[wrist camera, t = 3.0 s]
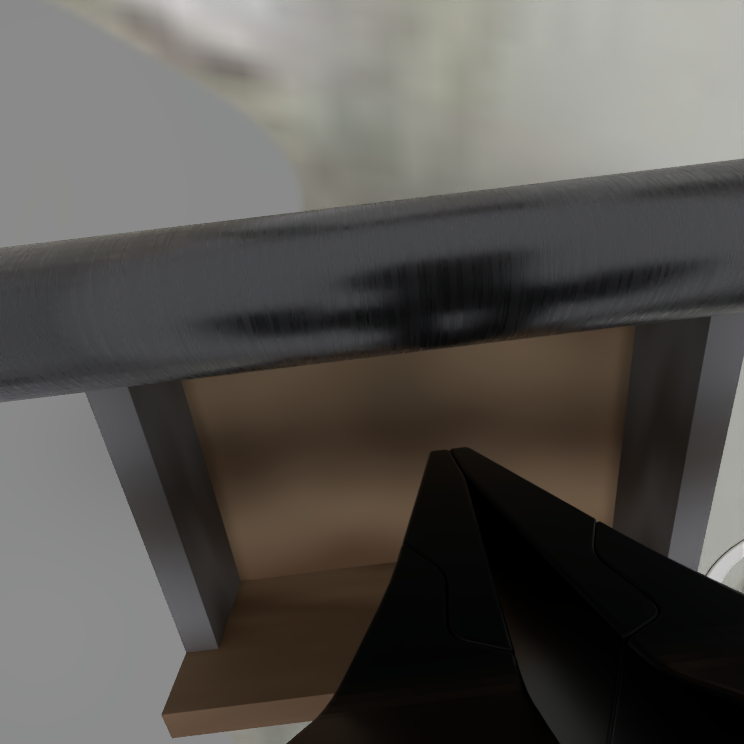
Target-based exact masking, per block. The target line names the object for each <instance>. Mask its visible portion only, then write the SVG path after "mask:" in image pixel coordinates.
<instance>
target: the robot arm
mask: <svg viewBox="0 0 744 744" xmlns="http://www.w3.org/2000/svg"><path fill="white" fill-rule="evenodd" d="M287 744H744V594H743V593H741V592H738V591H736V590H734V589H732V588H730V587H728V586H726V585H724V584H722V583H720V582H718V581H715V580H713V579H711V578H709V577H707V576H705V575H703V574H701V573H699V572H697V571H695V570H692V569H690V568H688V567H686V566H684V565H682V564H680V563H678V562H676V561H674V560H672V559H670V558H668V557H666V556H664V555H662V554H660V553H658V552H656V551H654V550H652V549H650V548H648V547H646V546H644V545H643V544H641V543H639V542H637V541H635V540H633V539H631V538H630V537H628V536H626V535H624V534H622V533H620V532H618V531H617V530H615V529H613V528H611V527H610V526H608V525H606V524H604V523H603V522H601V521H598V522H597V520H596V519H595V518H593V517H592V516H590V515H588V514H586V513H585V512H583V511H581V510H579V509H577V508H576V507H574V506H572V505H570V504H569V503H567V502H565V501H563V500H561V499H560V498H558V497H556V496H554V495H553V494H551V493H549V492H547V491H546V490H544V489H542V488H540V487H538V486H537V485H535V484H533V483H531V482H530V481H528V480H526V479H524V478H522V477H521V476H519V475H517V474H515V473H514V472H512V471H510V470H508V469H507V468H505V467H503V466H501V465H499V464H498V463H496V462H494V461H492V460H491V459H489V458H487V457H485V456H484V455H482V454H480V453H478V452H476V451H475V450H473V449H471V448H469V447H459V448H452V449H450V451H449V450H447V449H443V450H435V451H431V452H430V454H429V457H428V460H427V464H426V467H425V470H424V473H423V477H422V480H421V483H420V487H419V490H418V493H417V497H416V500H415V503H414V506H413V510H412V513H411V516H410V520H409V523H408V526H407V530H406V533H405V536H404V539H403V543H402V546H401V549H400V552H399V555H398V558H397V562H396V564H395V567H394V570H393V573H392V576H391V579H390V581H389V584H388V586H387V588H386V591H385V593H384V595H383V597H382V600H381V602H380V604H379V606H378V608H377V610H376V612H375V614H374V617H373V619H372V621H371V623H370V625H369V627H368V629H367V631H366V633H365V635H364V637H363V639H362V641H361V643H360V645H359V647H358V649H357V651H356V653H355V655H354V657H353V659H352V661H351V663H350V665H349V667H348V669H347V671H346V673H345V675H344V677H343V679H342V681H341V683H340V685H339V687H338V689H337V690H336V692H335V694H334V695H333V697H332V699H331V700H330V701H329V703H328V704H327V706H326V707H325V708H324V710H323V711H322V712H321V713H320V714H319V715H318V717H317V718H316V719H315V720H314V721H313V722H311V723H310V724H309V725H308V726H307V727H306V728H304V729H303V730H302V731H301V732H300V733H298V734H297V735H296V736H295V737H294V738H293V739H291V740H290V741H289V742H288V743H287Z"/></svg>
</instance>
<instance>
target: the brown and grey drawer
mask: <svg viewBox="0 0 744 744" xmlns="http://www.w3.org/2000/svg"><path fill="white" fill-rule="evenodd" d="M743 357H744V312H740V313H732V314H724V315H716V316H707V317H699V318H691V319H683V320H674V321H666V322H658V323H650V324H641V325H633V326H625V327H617V328H609V329H600V330H592V331H584V332H576V333H567V334H559V335H551V336H543V337H534V338H526V339H518V340H510V341H501V342H493V343H485V344H477V345H468V346H460V347H452V348H444V349H436V350H427V351H419V352H411V353H403V354H394V355H386V356H378V357H370V358H361V359H353V360H345V361H337V362H328V363H320V364H312V365H304V366H296V367H287V368H279V369H271V370H263V371H254V372H246V373H238V374H230V375H221V376H213V377H205V378H197V379H188V380H180V381H172V382H164V383H155V384H147V385H139V386H131V387H123V388H114V389H106V390H98V391H90V392H85V393H86V396H87V398H88V401H89V403H90V406H91V408H92V411H93V413H94V416H95V419H96V421H97V424H98V426H99V429H100V431H101V434H102V437H103V439H104V442H105V444H106V447H107V450H108V452H109V455H110V457H111V460H112V462H113V465H114V468H115V470H116V473H117V475H118V478H119V480H120V483H121V486H122V488H123V491H124V493H125V496H126V498H127V501H128V504H129V506H130V509H131V511H132V514H133V516H134V519H135V521H136V524H137V527H138V529H139V531H140V534H141V537H142V539H143V542H144V545H145V547H146V550H147V552H148V555H149V558H150V560H151V563H152V565H153V568H154V570H155V573H156V576H157V578H158V581H159V583H160V586H161V588H162V591H163V594H164V596H165V599H166V601H167V604H168V606H169V609H170V612H171V614H172V617H173V619H174V622H175V624H176V627H177V630H178V632H179V635H180V637H181V640H182V642H183V645H184V648H185V650H186V655H185V658H184V660H183V662H182V665H181V667H180V670H179V672H178V675H177V677H176V680H175V682H174V685H173V687H172V690H171V692H170V695H169V698H168V700H167V702H166V705H165V707H164V710H163V712H162V717H163V719H164V722H165V724H166V726H167V728H168V730H169V732H170V735H171V737H172V738H177V737H185V736H193V735H201V734H209V733H217V732H225V731H233V730H241V729H249V728H257V727H265V726H273V725H281V724H289V723H297V722H305V721H313V720H315V719H316V718H317V717H318V715H319V714H320V713H321V712H322V711H323V710H324V708H325V707H326V706H327V704H328V703H329V701H330V700H331V699H332V697H333V695H334V694H335V692H336V690H337V689H338V687H339V685H340V683H341V681H342V679H343V677H344V675H345V673H346V671H347V669H348V667H349V665H350V663H351V661H352V659H353V657H354V655H355V653H356V651H357V649H358V647H359V645H360V643H361V641H362V639H363V637H364V635H365V633H366V631H367V629H368V627H369V625H370V623H371V621H372V619H373V617H374V614H375V612H376V610H377V608H378V606H379V604H380V602H381V600H382V597H383V595H384V593H385V591H386V588H387V586H388V584H389V581H390V579H391V576H392V573H393V570H394V567H395V564H396V562H397V558H398V555H399V552H400V549H401V546H402V543H403V539H404V536H405V533H406V530H407V526H408V523H409V520H410V516H411V513H412V510H413V506H414V503H415V500H416V497H417V493H418V490H419V487H420V483H421V480H422V477H423V473H424V470H425V467H426V464H427V460H428V457H429V454H430V452H431V451H435V450H443V449H447V450H449V451H450V449H452V448H459V447H469V448H471V449H473V450H475V451H476V452H478V453H480V454H482V455H484V456H485V457H487V458H489V459H491V460H492V461H494V462H496V463H498V464H499V465H501V466H503V467H505V468H507V469H508V470H510V471H512V472H514V473H515V474H517V475H519V476H521V477H522V478H524V479H526V480H528V481H530V482H531V483H533V484H535V485H537V486H538V487H540V488H542V489H544V490H546V491H547V492H549V493H551V494H553V495H554V496H556V497H558V498H560V499H561V500H563V501H565V502H567V503H569V504H570V505H572V506H574V507H576V508H577V509H579V510H581V511H583V512H585V513H586V514H588V515H590V516H592V517H593V518H595V519H596V520H597V522H598V521H601V522H603V523H604V524H606V525H608V526H610V527H611V528H613V529H615V530H617V531H618V532H620V533H622V534H624V535H626V536H628V537H630V538H631V539H633V540H635V541H637V542H639V543H641V544H643V545H644V546H646V547H648V548H650V549H652V550H654V551H656V552H658V553H660V554H662V555H664V556H666V557H668V558H670V559H672V560H674V561H676V562H678V563H680V564H682V565H684V566H686V567H688V568H690V569H692V570H695V571H697V570H698V566H699V561H700V556H701V552H702V547H703V542H704V538H705V533H706V529H707V524H708V519H709V515H710V510H711V505H712V501H713V496H714V491H715V487H716V482H717V477H718V473H719V468H720V463H721V459H722V454H723V450H724V445H725V440H726V436H727V431H728V426H729V422H730V417H731V412H732V408H733V403H734V398H735V394H736V389H737V384H738V380H739V375H740V371H741V366H742V361H743Z"/></svg>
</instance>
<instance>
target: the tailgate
mask: <svg viewBox="0 0 744 744" xmlns="http://www.w3.org/2000/svg"><path fill="white" fill-rule="evenodd" d="M740 312H744V159H737V160H729V161H721V162H712V163H704V164H696V165H687V166H679V167H671V168H662V169H654V170H646V171H637V172H629V173H621V174H612V175H604V176H596V177H587V178H579V179H571V180H562V181H554V182H546V183H537V184H529V185H521V186H512V187H504V188H496V189H487V190H479V191H471V192H462V193H454V194H446V195H437V196H429V197H421V198H412V199H404V200H396V201H387V202H379V203H371V204H362V205H354V206H346V207H337V208H329V209H321V210H312V211H304V212H296V213H288V214H279V215H271V216H262V217H254V218H246V219H238V220H230V221H221V222H212V223H204V224H196V225H188V226H179V227H171V228H162V229H154V230H146V231H138V232H129V233H121V234H113V235H104V236H97V237H87V238H79V239H71V240H63V241H55V242H46V243H37V244H29V245H21V246H12V247H4V248H0V402H6V401H15V400H24V399H32V398H40V397H48V396H57V395H65V394H73V393H81V392H90V391H98V390H106V389H114V388H123V387H131V386H139V385H147V384H155V383H164V382H172V381H180V380H188V379H197V378H205V377H213V376H221V375H230V374H238V373H246V372H254V371H263V370H271V369H279V368H287V367H296V366H304V365H312V364H320V363H328V362H337V361H345V360H353V359H361V358H370V357H378V356H386V355H394V354H403V353H411V352H419V351H427V350H436V349H444V348H452V347H460V346H468V345H477V344H485V343H493V342H501V341H510V340H518V339H526V338H534V337H543V336H551V335H559V334H567V333H576V332H584V331H592V330H600V329H609V328H617V327H625V326H633V325H641V324H650V323H658V322H666V321H674V320H683V319H691V318H699V317H707V316H716V315H724V314H732V313H740Z"/></svg>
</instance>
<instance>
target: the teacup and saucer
mask: <svg viewBox="0 0 744 744" xmlns="http://www.w3.org/2000/svg"><path fill="white" fill-rule="evenodd" d="M743 557H744V540H743V541H742V542H740V543H739V544H737V545H736V546H734V547H733V548H731V549H730V550H729V551H728V552H726V553H725V554H724V555H723V556H722V557H721V558H720V559H719V560H718V561H717V562H716V563H715V564H714V565H713V567H712V568H711V569H710V571H709V572H708V574H707V575H706V576H707V577H709V578H711V579H713V580H715V581H718V582H720V583H722V581H723V579H724V577H725V575H726V574H727V572H728V571H729V570H730V569H731V568H732V567H733V566H734V565H735V564H736V563H737V562H738V561H739V560H740V559H742V558H743Z"/></svg>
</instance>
